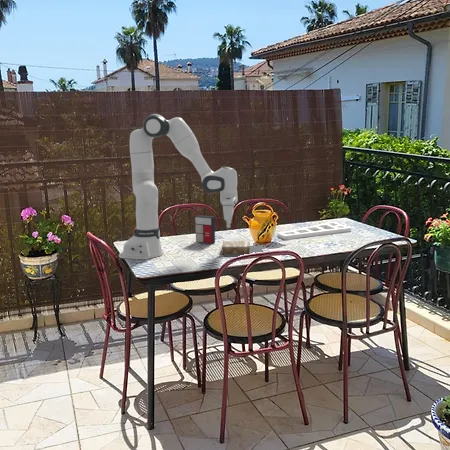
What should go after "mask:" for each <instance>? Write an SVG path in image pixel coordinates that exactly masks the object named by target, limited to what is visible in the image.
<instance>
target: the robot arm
mask: <svg viewBox="0 0 450 450" xmlns="http://www.w3.org/2000/svg"><path fill="white" fill-rule="evenodd" d="M163 136H167V137H168V138H169V139H170V140H171V142H172V143H173V145H174V147H175V149H177V151H178V152H179V153H180V154H181V155H182V157H185V158H186V159H187V160H189V161H190V162H191V163H192V165H193V166H194V168H195V170H196V171H197V172H198V174H199V176H200V181H201V187H202V189H203V190H204V192H205V193H208V194H214V193H219V194H220V195H219V197H220V198H219V199H220V200H219V201H220V204H221V205H222V211H223V219H224V221H226V228H228V229H230V228H231V224H232V220H233V215H234V207H235V206H236V204H237V203H238V189H237V187H238V173H237V170H236V169H235V168H233V167H230V166H221V168H219V169H217V170H216V171H214V170H212V169H211V166H209V164H208V163H207V161H206V160H205V158H204V157H203V154H202V152H201V149H200V148H201V147H200V145H199V142H198V139H197V137H196V136H195V133H194V132H193V131H192V129H191V128H190V126H189V125H188V123H186V122H185V120H184V119H183V118H182V117H179V116H176V117H173V118H171V119H166V118H165V117H164V116H163V115H161V114H158V113H153V114H152V113H151V114H149V115H148V116H146V118H144V120H143V123H142V127H141V128H137V129H135V130H133V131H131V132H130V136H129V155H130V164H131V181H132V182H131V184H132V192H133V195H134V196H135V220H136V221H135V222H136V227H135V228H133V230H132V234H133V235H132V236H131V237H130V238H128V240H127V241H126V242H125V243H124V245H123V249H122V250H121V251H120V253H119V254H118V257H119V258H120V259H128V260H129V259H131V260H132V259H133V260H149V259H152V258H158V257H160V256H162V255H164V251H163V248H162V245H161V244H162V243H161V232H160V230H161V229H160V227H159V215H158V213H159V211H158V210H159V189H158V187H157V185H156V184H155V174H154V173H155V164H154V162H155V161H154V151H153V140H154V139H155V138H160V137H163Z"/></svg>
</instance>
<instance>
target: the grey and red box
mask: <svg viewBox="0 0 450 450" xmlns="http://www.w3.org/2000/svg"><path fill="white" fill-rule="evenodd" d="M215 223H216V216H212V215H211V216H210V215H203V214H201V215H199V214H197V215H196V216H195V217H194V226H195V227H194V229H195V242H196V243H201V244H209V245H213V244H214V243H216V231H215V230H216V228H215Z"/></svg>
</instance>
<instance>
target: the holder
mask: <svg viewBox="0 0 450 450" xmlns="http://www.w3.org/2000/svg"><path fill="white" fill-rule="evenodd" d="M347 232H352V227H350V226H348V225H344V224H341V223H340V222H336V221H332V222H331V221H329V222H322V224H315V225H314V224H313V225H311V226H304V227H300V228H297V229H289V230H288V231H279V232H277V237H278V238H281V239H282V240H292V239H300V238H309V237H317V236H324V235H325V236H326V235H332V234H333V235H334V234H340V233H347Z"/></svg>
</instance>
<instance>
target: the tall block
mask: <svg viewBox="0 0 450 450" xmlns="http://www.w3.org/2000/svg"><path fill="white" fill-rule="evenodd" d="M250 242H251V241H250V240H223V241H222V245H221V254H222V255H225V254H249V251H250V246H251V245H250Z"/></svg>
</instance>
